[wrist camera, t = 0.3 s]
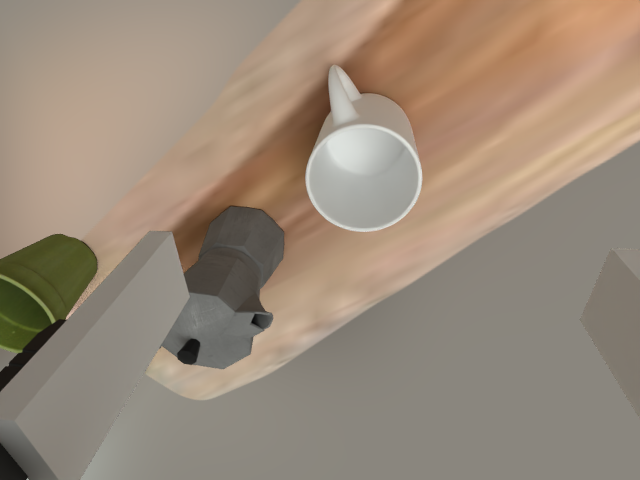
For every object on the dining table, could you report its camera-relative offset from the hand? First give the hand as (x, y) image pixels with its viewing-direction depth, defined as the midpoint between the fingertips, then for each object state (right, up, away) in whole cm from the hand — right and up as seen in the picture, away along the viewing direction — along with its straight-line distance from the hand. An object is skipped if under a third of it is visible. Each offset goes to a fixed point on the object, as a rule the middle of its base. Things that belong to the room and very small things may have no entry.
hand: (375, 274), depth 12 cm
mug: (+2, +13, +25) cm, 28 cm away
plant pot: (-34, -1, +39) cm, 51 cm away
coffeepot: (-11, +1, +34) cm, 36 cm away
